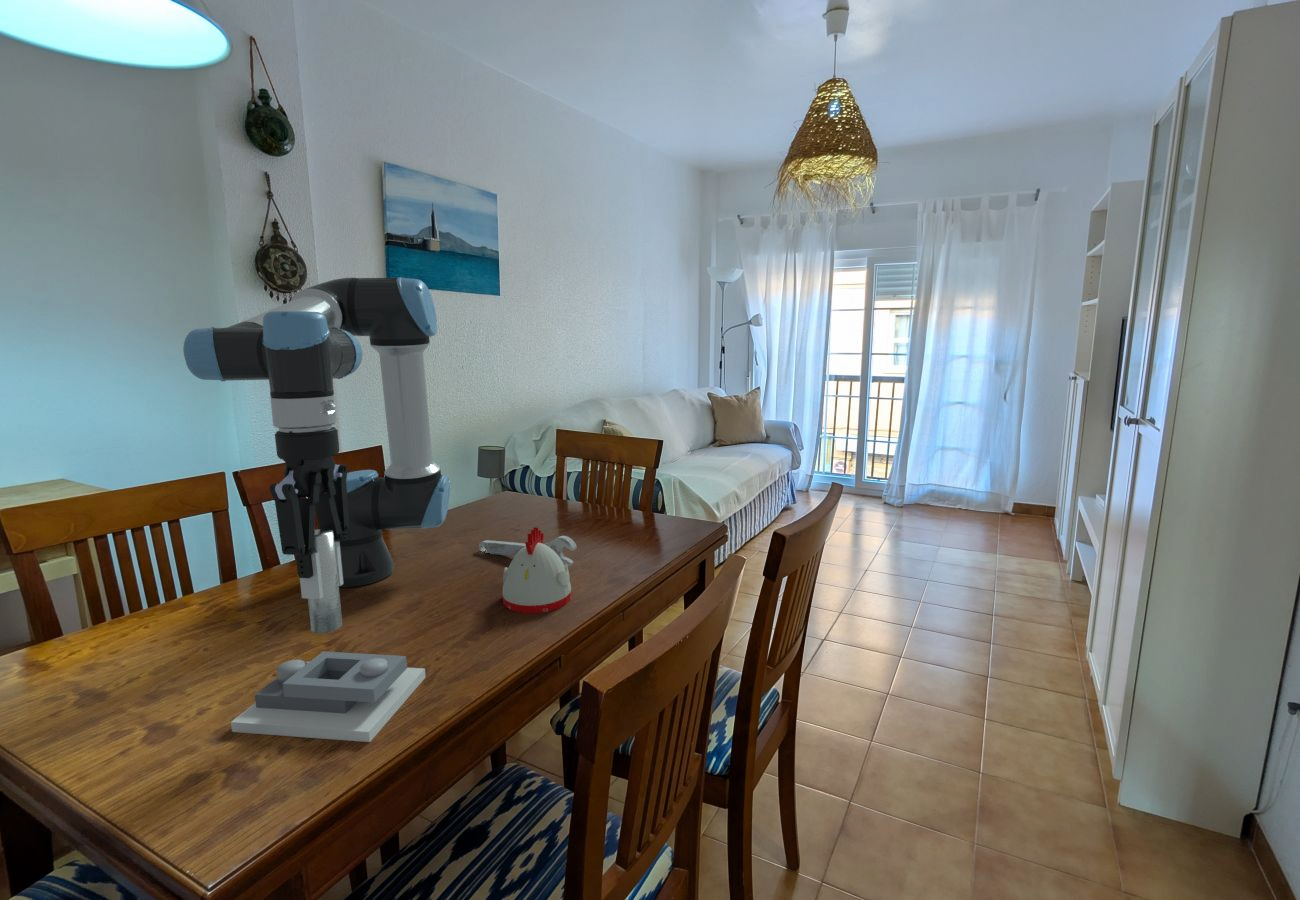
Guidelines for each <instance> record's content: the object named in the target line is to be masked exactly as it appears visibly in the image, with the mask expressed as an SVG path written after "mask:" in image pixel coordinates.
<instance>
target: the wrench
mask: <svg viewBox="0 0 1300 900" xmlns="http://www.w3.org/2000/svg"><path fill="white" fill-rule="evenodd" d="M544 544H545V545H547V546H548V547H550V548H551V549H552V550H553V551H554V552H555V553H556V554H557V555H558V556H559V557H560V559H561V560H562V562H563V564H564V565H567V566H568V567H570V566H572V565H574V561H573V560H572V559H571V558H569V557H567V556H565V555H564V552H563V551H564V548H566V549H568V550H570V551H571V552H573V551H575V550H577V548H578V547H577V546H578V545H577V544H576V542H575V541H574V540H573V539H572V538H571V537H569V536H566V535H561V536H558V537H556V538H554V539H552V540H550V541H549V542H546V543H544ZM525 546H526V544H525V543H523V542H512V541H502V540H501V541H500V540H499V541H498V540H488V539H486V540H483V541H481V542H479V543H478V549H479V552H480V551H482V552H483V551H485V550H486V552H485V553H484V554H486V553H490V554H489V555H501V556H514V557H515V556H516V554H517V553H518V552H519V551H520V550H521V549H522V548H523V547H525ZM485 547H486V548H485ZM482 552H481V553H482Z"/></svg>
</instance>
